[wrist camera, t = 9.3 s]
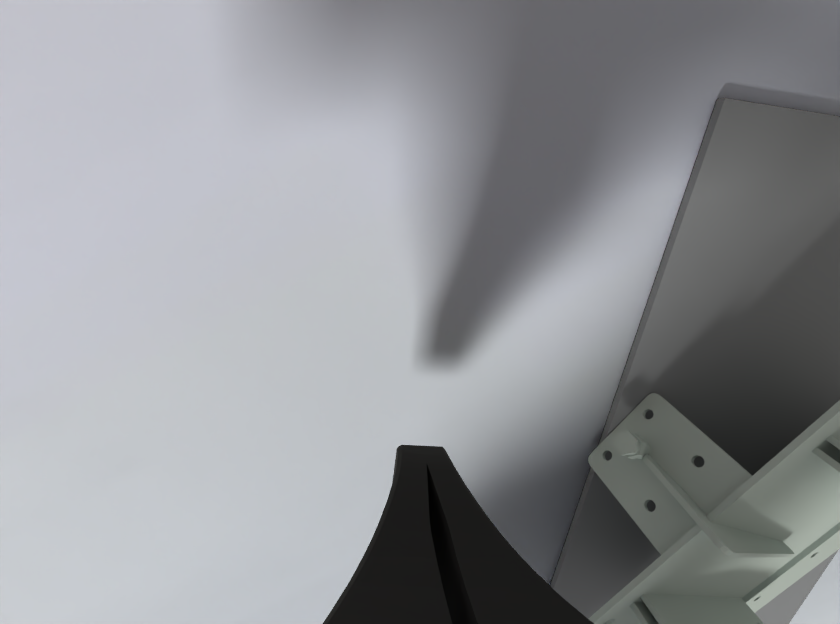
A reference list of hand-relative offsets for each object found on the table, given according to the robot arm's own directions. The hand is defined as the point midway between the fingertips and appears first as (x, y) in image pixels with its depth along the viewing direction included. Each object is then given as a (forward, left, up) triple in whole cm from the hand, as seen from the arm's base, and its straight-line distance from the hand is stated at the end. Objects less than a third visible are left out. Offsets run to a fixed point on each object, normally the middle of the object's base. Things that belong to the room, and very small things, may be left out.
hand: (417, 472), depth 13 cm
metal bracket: (-3, -13, -3) cm, 14 cm away
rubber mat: (-1, -14, -3) cm, 14 cm away
